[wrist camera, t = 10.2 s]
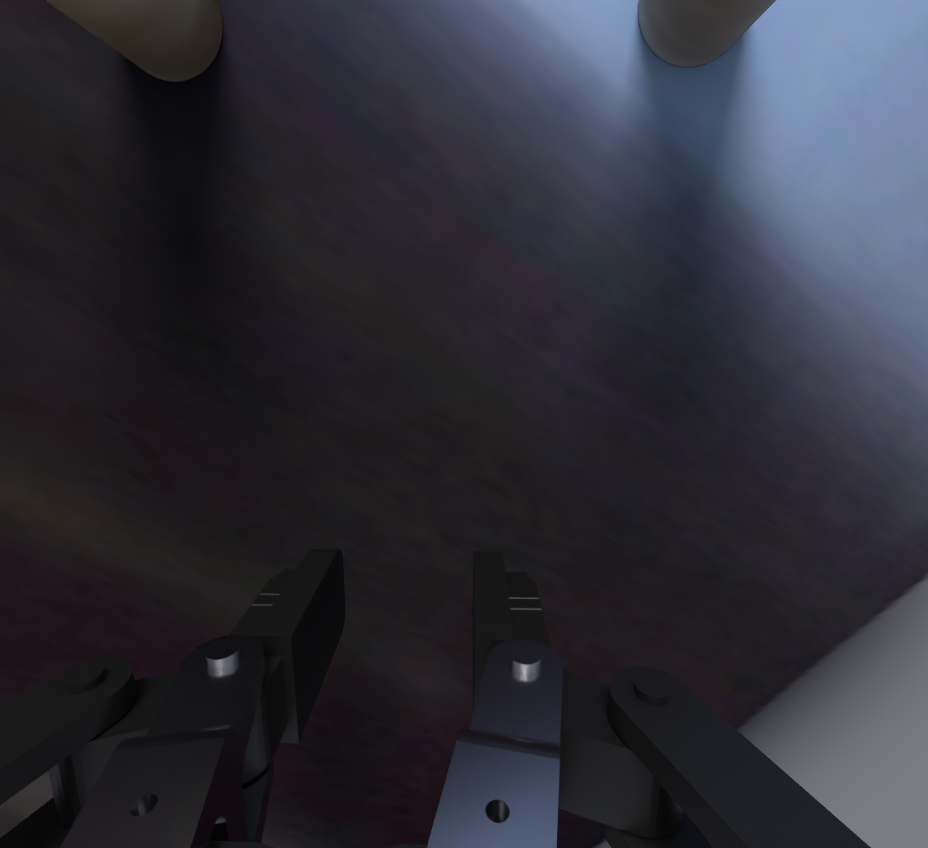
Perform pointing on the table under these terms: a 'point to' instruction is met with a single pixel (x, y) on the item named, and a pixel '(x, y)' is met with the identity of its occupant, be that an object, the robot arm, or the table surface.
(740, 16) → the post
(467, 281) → the table surface
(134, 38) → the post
